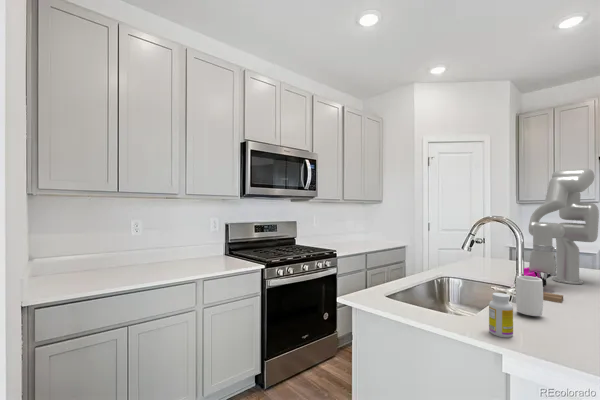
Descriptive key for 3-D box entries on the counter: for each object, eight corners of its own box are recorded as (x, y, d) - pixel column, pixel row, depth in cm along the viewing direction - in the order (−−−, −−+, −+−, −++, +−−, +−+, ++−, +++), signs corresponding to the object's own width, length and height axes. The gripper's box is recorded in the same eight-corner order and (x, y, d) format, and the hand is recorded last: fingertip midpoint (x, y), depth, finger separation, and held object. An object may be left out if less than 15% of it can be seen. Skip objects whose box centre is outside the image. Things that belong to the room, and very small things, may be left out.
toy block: (521, 283, 166) (515, 269, 167) (535, 281, 163) (529, 267, 164) (525, 291, 152) (519, 275, 153) (541, 288, 150) (534, 273, 151)
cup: (547, 320, 115) (547, 281, 115) (520, 318, 117) (520, 279, 117) (537, 312, 123) (537, 276, 123) (512, 310, 126) (512, 274, 126)
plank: (514, 290, 153) (515, 286, 153) (563, 299, 140) (563, 295, 140) (511, 293, 148) (511, 289, 148) (561, 302, 135) (561, 298, 135)
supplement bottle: (515, 334, 103) (515, 294, 103) (510, 340, 99) (510, 299, 99) (492, 328, 108) (492, 290, 108) (486, 333, 104) (486, 294, 104)
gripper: (563, 249, 151) (562, 288, 151) (525, 246, 162) (525, 282, 162) (561, 251, 146) (561, 291, 146) (522, 247, 157) (522, 285, 157)
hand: (542, 286), depth 154 cm, fingers closed
